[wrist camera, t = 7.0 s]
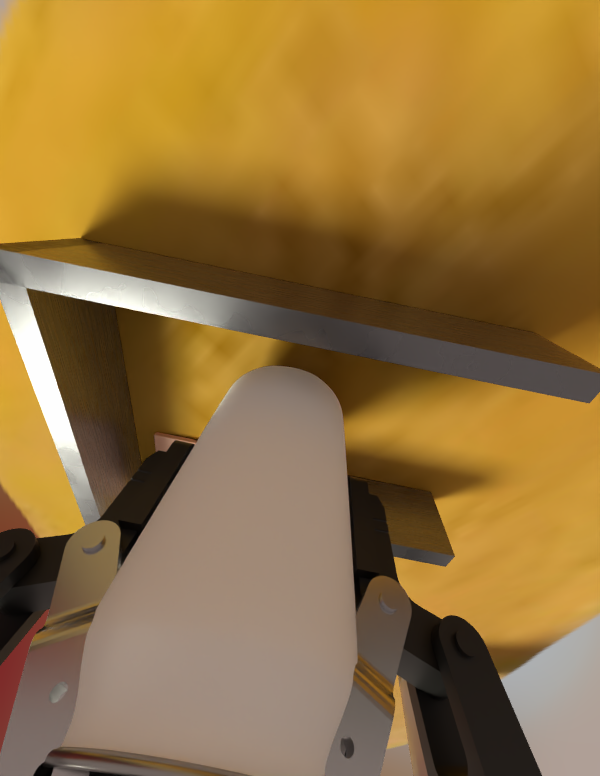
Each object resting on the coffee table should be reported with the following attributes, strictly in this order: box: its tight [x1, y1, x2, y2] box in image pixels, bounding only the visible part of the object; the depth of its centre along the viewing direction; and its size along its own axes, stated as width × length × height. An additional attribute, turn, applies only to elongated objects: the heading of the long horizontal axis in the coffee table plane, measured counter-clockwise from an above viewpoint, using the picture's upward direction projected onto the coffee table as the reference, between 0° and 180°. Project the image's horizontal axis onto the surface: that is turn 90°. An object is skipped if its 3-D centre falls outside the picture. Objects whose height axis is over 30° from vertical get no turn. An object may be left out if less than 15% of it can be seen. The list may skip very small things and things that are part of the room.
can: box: [42, 366, 358, 776], centre depth 10 cm, size 6×6×12 cm
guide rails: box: [0, 238, 600, 567], centre depth 17 cm, size 23×19×4 cm
